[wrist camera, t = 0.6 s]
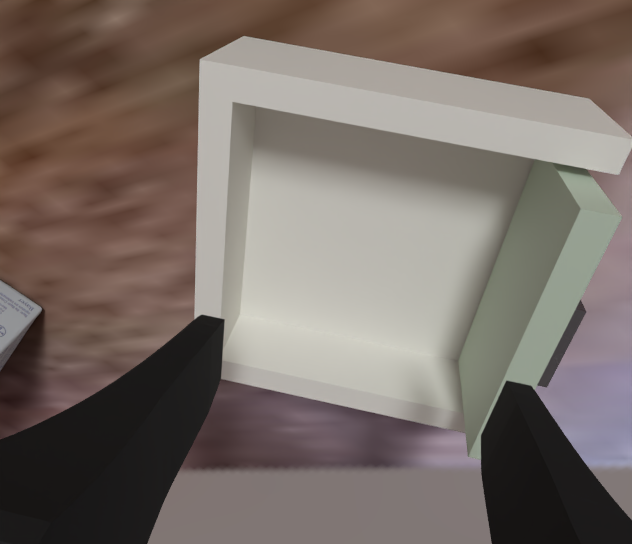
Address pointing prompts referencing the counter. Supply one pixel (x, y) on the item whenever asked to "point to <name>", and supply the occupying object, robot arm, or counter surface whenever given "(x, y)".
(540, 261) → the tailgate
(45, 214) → the counter surface
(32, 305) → the medicine box
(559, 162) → the white open tray
